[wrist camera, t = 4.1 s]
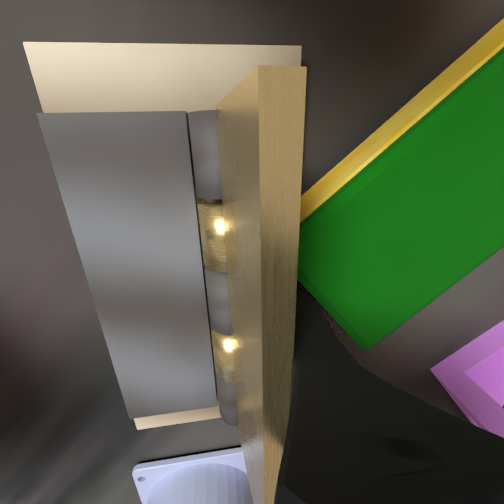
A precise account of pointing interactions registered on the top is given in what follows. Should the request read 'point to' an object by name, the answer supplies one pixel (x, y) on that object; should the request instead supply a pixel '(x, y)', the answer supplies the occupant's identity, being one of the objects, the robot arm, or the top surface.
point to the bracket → (477, 379)
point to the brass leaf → (258, 257)
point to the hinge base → (147, 205)
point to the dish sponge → (411, 201)
